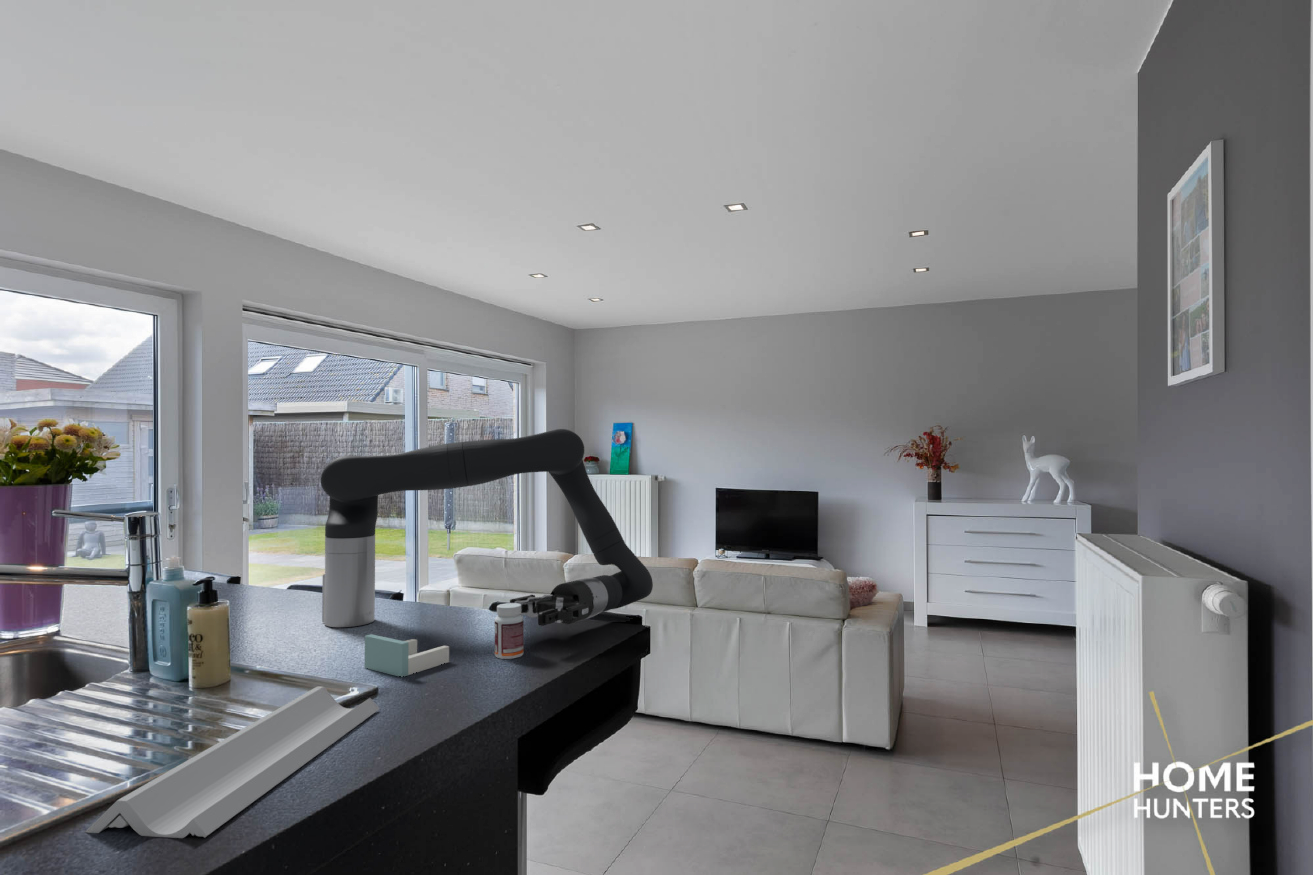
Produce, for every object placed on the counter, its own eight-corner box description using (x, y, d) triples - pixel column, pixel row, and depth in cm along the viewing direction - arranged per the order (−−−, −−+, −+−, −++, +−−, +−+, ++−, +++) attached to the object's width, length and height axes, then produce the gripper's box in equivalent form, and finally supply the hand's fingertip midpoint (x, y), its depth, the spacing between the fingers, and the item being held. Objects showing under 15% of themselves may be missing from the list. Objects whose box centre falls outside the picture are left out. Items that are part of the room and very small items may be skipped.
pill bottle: (529, 653, 121) (529, 603, 121) (511, 661, 117) (511, 609, 117) (506, 650, 123) (506, 601, 123) (488, 657, 119) (488, 606, 119)
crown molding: (204, 847, 63) (205, 805, 63) (80, 840, 64) (81, 799, 64) (378, 715, 94) (378, 687, 94) (292, 712, 95) (292, 685, 95)
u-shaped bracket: (364, 667, 113) (364, 635, 113) (412, 653, 121) (412, 623, 121) (401, 677, 108) (401, 643, 108) (449, 661, 116) (449, 630, 116)
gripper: (550, 576, 140) (490, 589, 126) (610, 583, 132) (553, 598, 119) (550, 615, 140) (490, 632, 126) (609, 624, 132) (552, 644, 119)
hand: (520, 616), depth 122 cm, fingers open, 8 cm apart
